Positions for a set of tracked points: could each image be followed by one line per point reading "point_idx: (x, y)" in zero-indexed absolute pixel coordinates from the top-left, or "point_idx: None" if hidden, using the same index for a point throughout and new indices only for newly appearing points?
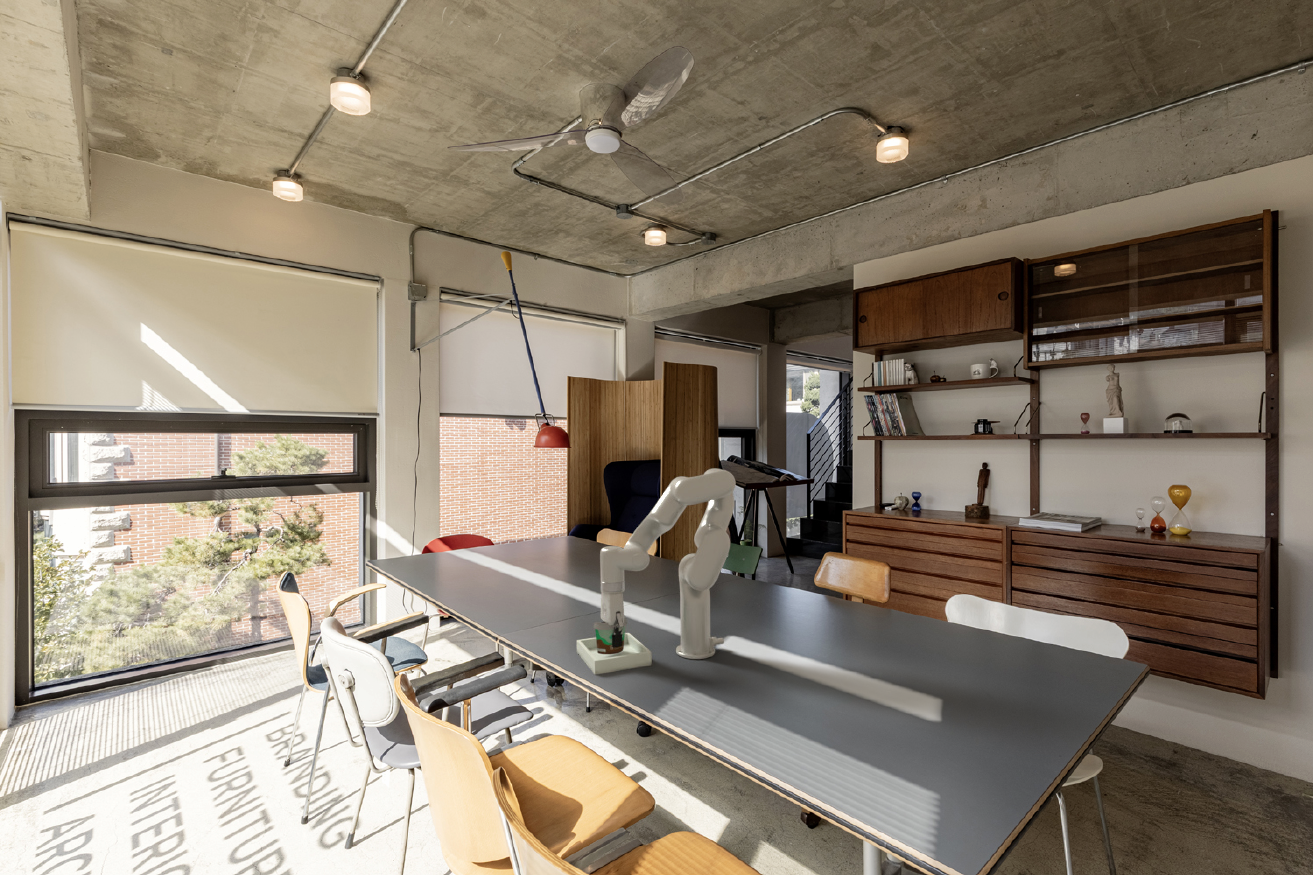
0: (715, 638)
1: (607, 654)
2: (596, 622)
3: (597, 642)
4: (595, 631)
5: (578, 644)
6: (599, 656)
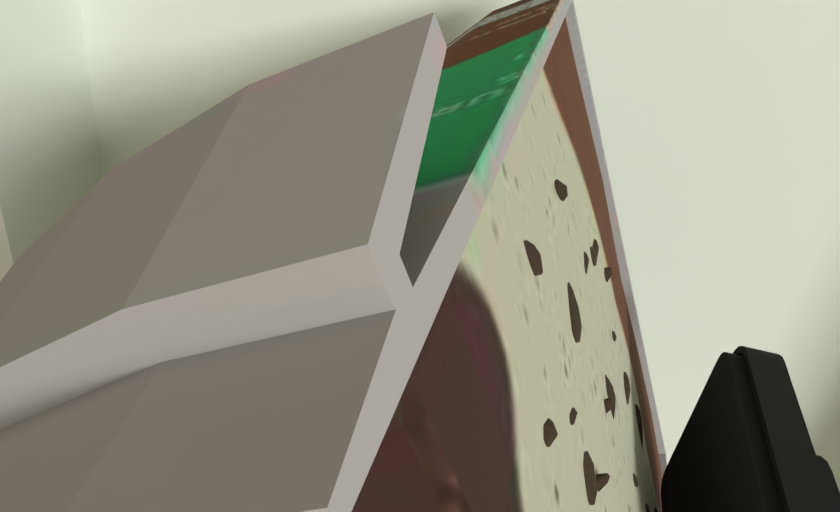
0: None
1: (612, 189)
2: (90, 498)
3: (515, 32)
4: (500, 100)
5: None
6: (620, 32)
